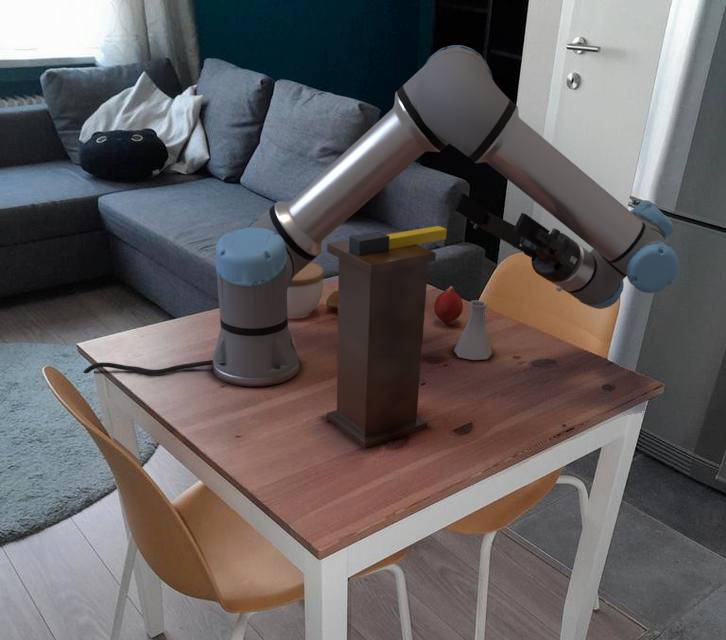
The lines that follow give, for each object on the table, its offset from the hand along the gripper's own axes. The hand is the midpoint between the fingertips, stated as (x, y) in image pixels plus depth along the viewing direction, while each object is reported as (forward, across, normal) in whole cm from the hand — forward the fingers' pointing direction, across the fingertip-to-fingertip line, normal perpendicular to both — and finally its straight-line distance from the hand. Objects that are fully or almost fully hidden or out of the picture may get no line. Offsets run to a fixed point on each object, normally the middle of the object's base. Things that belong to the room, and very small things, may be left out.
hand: (487, 211), depth 120 cm
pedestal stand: (+1, 0, -36) cm, 36 cm away
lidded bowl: (-10, +48, -30) cm, 57 cm away
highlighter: (+13, 0, -10) cm, 16 cm away
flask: (-26, +13, -21) cm, 36 cm away
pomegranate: (-31, +27, -18) cm, 45 cm away
